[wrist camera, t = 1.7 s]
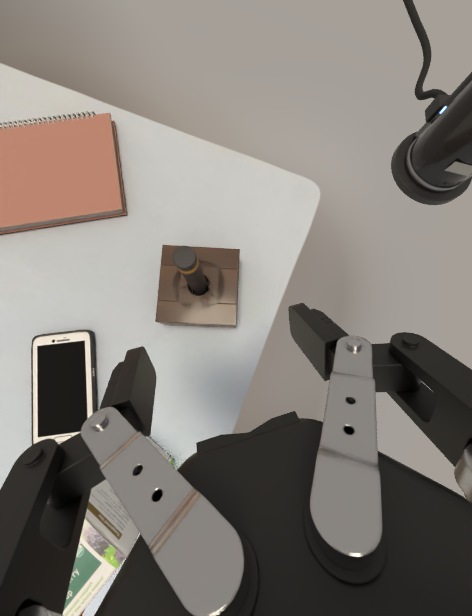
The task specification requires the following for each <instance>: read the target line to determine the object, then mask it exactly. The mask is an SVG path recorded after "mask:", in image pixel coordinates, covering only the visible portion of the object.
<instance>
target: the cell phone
mask: <svg viewBox="0 0 472 616" xmlns="http://www.w3.org/2000/svg"><path fill="white" fill-rule="evenodd" d="M31 368H32V445H34V444H35V443H37V442H39V441H41V440H44V439H54V440H55V441H56V442H57V443H58V444H60V443H62V442H64V441H65V440H67V439H69V438H71V437H73V436H74V435H76V434H78V433H80V432H81V428H82V426H83V424H84V422H85V421H86V420H87V419H88V418H89V417H90V416H91V415H92V414H93V413H95V412H96V386H95V374H94V368H95V358H94V338H93V333H92V331H90V330H76V331H67V332H58V333H50V334H42V335H37V336H35V337H34V338H33V340H32V349H31Z"/></svg>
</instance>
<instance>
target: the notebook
mask: <svg viewBox="0 0 472 616" xmlns="http://www.w3.org/2000/svg"><path fill="white" fill-rule="evenodd" d="M87 113H88V114H89V116H88V114H87ZM93 114H94V115H93ZM78 115H79V117H78ZM83 115H84V116H83ZM63 116H64V117H65V119H63ZM68 116H69V117H70V118H68ZM73 116H74V117H75V118H73ZM58 117H59V118H60V120H59V119H58ZM48 118H49V119H50V120H51V121H49V119H48ZM53 118H55V119H56V120H54V119H53ZM39 119H40V118H37V120H36V119H35V118H34V119H32V120H30V119H27V121H26V120H22V121H20V120H18V121H17V122H16V121H13V122H12V123H11V122H7V123H5V122H3V123H2V124H1V123H0V125H2V127H0V234H4V233H10V232H17V231H23V230H30V229H36V228H43V227H49V226H56V225H62V224H69V223H75V222H82V221H88V220H95V219H102V218H108V217H115V216H121V215H127V214H126V206H125V198H124V191H123V183H122V175H121V168H120V160H119V152H118V145H117V137H116V129H115V122H114V121H111V114H110V113H106V114H99V115H96V114H95V113H94V112H93V111H91V115H90V113H89V112H86V115H85V114H84V113H83V112H81V115H80V114H79V113H76V115H75V114H73V113H72V114H71V116H70V115H69V114H66V116H65V115H61V117H60V116H59V115H57V116H56V117H55V116H52V118H50V117H47V118H45V117H42V119H40V120H41V121H42V122H39ZM43 119H45V120H46V121H45V122H44V120H43ZM34 120H35V121H36V122H37V123H34ZM24 121H25V122H26V123H27V124H24ZM29 121H31V122H32V123H30V124H29ZM14 122H15V123H16V124H17V125H14ZM19 122H21V123H22V125H19ZM9 123H11V124H12V126H10V125H9ZM4 124H6V125H7V127H5V126H4Z"/></svg>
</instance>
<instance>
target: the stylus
mask: <svg viewBox="0 0 472 616" xmlns="http://www.w3.org/2000/svg"><path fill="white" fill-rule="evenodd" d="M172 259H173V262H174V264H175V265H176V267H177V268H178V270H179V271H180V272H181V274H182V275H183V277H184V278H185V279H186V281H187V282H188V284H189V285H190V287H191V288H192V290H193V291H194V292H195V294H196V295H199V296H201V295H203V294H205V293H206V292H207V291H208V286H207V283H206V280H205V278H204V275H203V272H202V270H201V267H200V265H199V262H198V259H197V256H196V254H195V252H194V250H193V249H192V248H190V247H188V246H180V247H178V248H177V249H176V250H175V251H174V253H173V256H172Z"/></svg>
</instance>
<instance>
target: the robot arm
mask: <svg viewBox="0 0 472 616" xmlns="http://www.w3.org/2000/svg"><path fill="white" fill-rule="evenodd" d="M403 2H404V4H405V6H406V9H407V11H408V14H409V16H410V19H411V22H412V24H413V26H414V29H415V31H416V33H417V36H418V38H419V40H420V43H421V46H422V50H423V56H424V62H423V67H422V70H421V73H420V76H419V78H418V81H417V84H416V88H415V95H416V97H417V99H418V100H425V99H428V98H435V99H434V100H433V102H432V103H431V104H430V105H429V106H428V108H427V109H426V110H425V116H426V124H425V125H424V126H423V127H422V128H421V129H420V130H419V131H418V132H417V133H416V134H415V136H414V137H413V143H412V144H411V145H410V146H409V147H408V149H407V151H406V153H405V158H404V164H405V169H406V172H407V174H408V176H409V177H410V179H411V180H412V181H413V182H414V183H415V184H416V185H417V186H419V187H420V188H422V189H424V190H426V191H429V192H433V193H445V192H449V191H451V190H453V189H455V188H456V187H458V186H459V185H461V184H462V183H463V182H464V181H465V180H467V179H468V178H470V177H471V176H472V72H471V74H470V75H469V76H468V77H467V78H466V79H465V80H464V81H463V82H462V83H461V84H460V86H459V87H458V88H457V89H456V90H455V91H454V92H453V93H452V95H447V94H446V93H445V92H443V91H442V90H438V89H432V90H429V91H426V92H423V89H422V86H423V82H424V80H425V77H426V75H427V72H428V69H429V66H430V62H431V47H430V43H429V40H428V37H427V34H426V32H425V29H424V27H423V25H422V23H421V21H420V18H419V16H418V13H417V11H416V8H415V6H414V3H413V1H412V0H403ZM289 321H290V331H291V335H292V337H293V339H294V341H295V342H296V343H297V344H298V346H299V347H300V349H301V350H302V351H303V353H304V354H305V355H306V357H307V358H308V359H309V361H310V362H311V363H312V364H313V366H314V367H315V369H316V370H317V371H318V373H319V374H320V375H321V376H322V378H323V379H324V381H327V380H330V382H329V388H328V395H327V401H326V408H325V414H324V420H323V422H321V421H317V420H313V419H303V418H302V419H299V418H298V416H297V414H296V412H295V411H294V412H290V413H287V414H284V415H281V416H278V417H275V418H272V419H270V420H268V421H267V422H265V423H264V424H262V425H260V426H259V427H257V428H256V429H254V430H253V431H251V432H249V433H240V434H226V435H219V436H216V437H213V438H210V439H207V440H204V441H201V442H198V443H196V444H197V452H196V453H195V454H193V455H192V456H191V457H189V458H188V459H187V460H186V461H185V462H184V463H183V464H182V465H181V466H180V467H179V468H178V470H176V469H175V468H174V467H173V466H172V465H171V463H170V462H169V461H168V460H167V459H166V458H165V457H164V456H163V455H162V454H161V453H160V452H159V451H158V450H157V449H156V448H155V447H154V446H153V444H152V443H151V442H150V441H149V440H148V439H147V438H146V436H149V435H150V433H151V424H152V414H153V405H154V396H155V387H156V373H155V369H154V367H153V365H152V362H151V360H150V358H149V356H148V354H147V352H146V350H145V348H144V347H143V346H142V347H138V348H135V349H131V350H128V351H127V353H126V356H125V360H124V362H120V363H119V364H118V365H117V366H116V367H115V369H114V370H113V371H112V374H111V377H110V380H109V383H108V387H107V389H106V392H105V394H104V397H103V400H102V403H101V406H100V409H99V410H98V411H96V412H95V413H93V414H92V415H91V416H90V417H89V418H88V419H87V420H86V421H85V422H84V424H83V426H82V428H81V432H80V433H78V434H76V435H74V436H73V437H71V438H69V439H67V440H65V441H64V442H62V443H60V444H58V443H57V442H56V441H55V440H54V439H44V440H41V441H39V442H37V443H35V444H34V445H32V446H31V447H29V448H28V449H27V450H26V451H25V452H24V453H22V454H21V456H20V457H19V458H18V459H17V460H16V462H15V464H14V465H13V467H12V469H11V471H10V473H9V475H8V476H7V478H6V480H5V482H4V484H3V486H2V488H1V490H0V616H64V615H63V611H64V607H65V602H66V598H67V593H68V589H69V585H70V580H71V576H72V572H73V567H74V563H75V559H76V554H77V550H78V546H79V541H80V537H81V533H82V528H83V524H84V520H85V515H86V511H87V507H88V502H89V498H90V493H91V489H92V488H93V487H95V486H96V485H98V484H99V483H101V482H103V481H104V480H107V481H108V483H109V484H110V486H111V488H112V489H113V491H114V492H115V494H116V496H117V497H118V499H119V500H120V502H121V504H122V505H123V507H124V508H125V510H126V511H127V513H128V515H129V516H130V518H131V519H132V521H133V523H134V524H135V526H136V527H137V529H138V531H139V532H140V535H139V537H138V539H137V541H136V542H135V544H134V546H133V548H132V550H131V551H130V553H129V555H128V557H127V558H126V560H125V562H124V564H123V566H122V567H121V569H120V571H119V573H118V574H117V576H116V578H115V580H114V581H113V583H112V585H111V587H110V589H109V590H108V592H107V594H106V596H105V597H104V599H103V601H102V603H101V605H100V606H99V608H98V610H97V612H96V613H95V615H94V616H472V370H471V369H470V368H468V367H467V366H465V365H464V364H462V363H461V362H459V361H458V360H457V359H455V358H453V357H452V356H451V355H449V354H448V353H446V352H445V351H443V350H442V349H440V348H439V347H437V346H436V345H435V344H433V343H432V342H430V341H429V340H427V339H426V338H424V337H422V336H420V335H417V334H414V333H406V332H403V333H397V334H395V335H393V336H392V338H391V340H390V343H387V344H370V342H368V341H367V340H366V339H364V338H361V337H358V336H349V335H348V334H347V333H346V332H345V331H343V330H342V329H341V328H340V327H339V326H338V325H337V324H335V323H334V322H333V321H332V320H331V319H330V318H328V317H327V316H326V315H325V314H324V313H323V312H321V311H318V310H316V309H311V310H310V309H309V308H308V307H307V306H306V305H305V304H303V303H300V304H296V305H293V306H289ZM421 381H422V382H424V383H425V384H426V385H427V386H428V387H429V388H430V389H431V390H432V391H433V392H434V393H433V392H432V391H431V390H430V389H429V388H428V387H426V385H424V384H423V383H422V382H421ZM375 392H387V393H388V394H389V395H390V396H391V398H392V399H393V400H394V401H395V402H396V403H397V404H398V405H399V406H400V407H401V408H402V410H403V411H404V412H405V413H406V414H407V415H408V416H409V417H410V418H411V419H412V420H413V422H414V423H415V424H416V425H417V426H418V427H419V428H420V429H421V430H422V431H423V432H424V434H425V435H426V436H427V437H428V438H429V439H430V440H431V441H432V442H433V443H434V444H435V445H436V447H437V448H438V449H439V450H440V451H441V452H442V453H443V454H444V455H445V457H446V458H447V459H448V460H449V461H450V462H451V463H452V464H453V465H454V466H455V470H454V474H455V479H456V481H457V483H458V485H459V487H460V488H461V489H462V491H463V492H464V494H465V497H466V499H465V498H464V497H463V496H461V495H459V494H458V493H456V492H454V491H452V490H450V489H448V488H447V487H445V486H443V485H441V484H439V483H437V482H435V481H433V480H432V479H430V478H428V477H426V476H424V475H422V474H420V473H419V472H417V471H415V470H413V469H411V468H409V467H407V466H405V465H404V464H402V463H400V462H398V461H396V460H394V459H392V458H390V457H389V456H387V455H385V454H383V453H381V452H379V451H378V449H377V421H376V394H375Z"/></svg>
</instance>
